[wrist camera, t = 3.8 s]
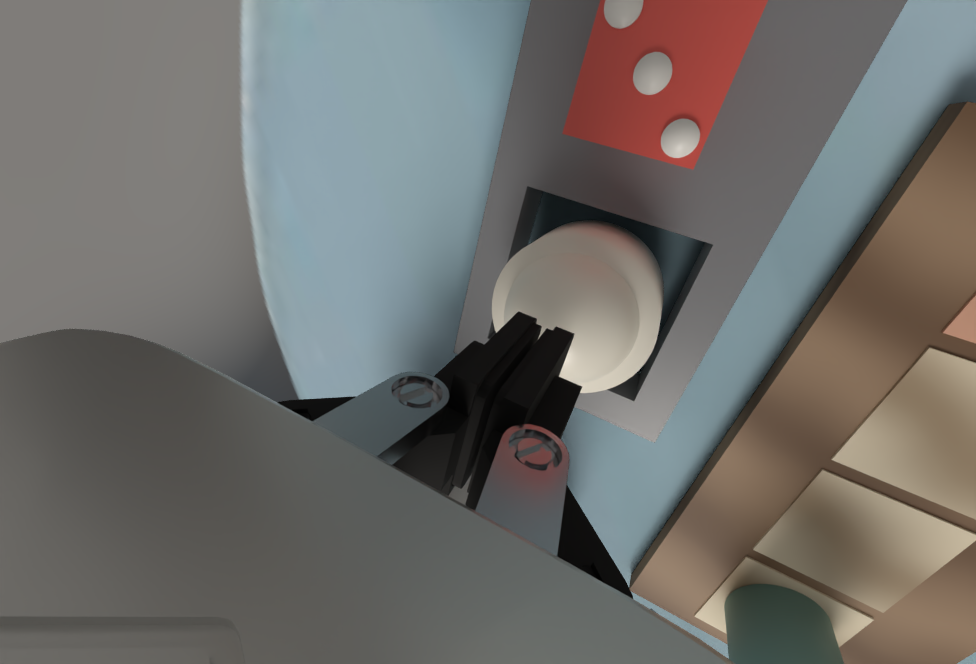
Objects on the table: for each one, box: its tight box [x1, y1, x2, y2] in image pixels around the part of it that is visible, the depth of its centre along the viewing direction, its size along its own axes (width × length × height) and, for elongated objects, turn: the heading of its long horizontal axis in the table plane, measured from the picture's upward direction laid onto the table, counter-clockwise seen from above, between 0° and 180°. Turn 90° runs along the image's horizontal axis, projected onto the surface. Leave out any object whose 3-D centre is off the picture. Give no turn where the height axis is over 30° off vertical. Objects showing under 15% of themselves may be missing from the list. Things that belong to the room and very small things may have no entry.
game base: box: [454, 0, 907, 443], centre depth 15 cm, size 16×10×6 cm, turn 166°
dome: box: [492, 220, 664, 393], centre depth 15 cm, size 6×6×5 cm
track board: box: [629, 102, 976, 664], centre depth 17 cm, size 25×12×1 cm, turn 166°
